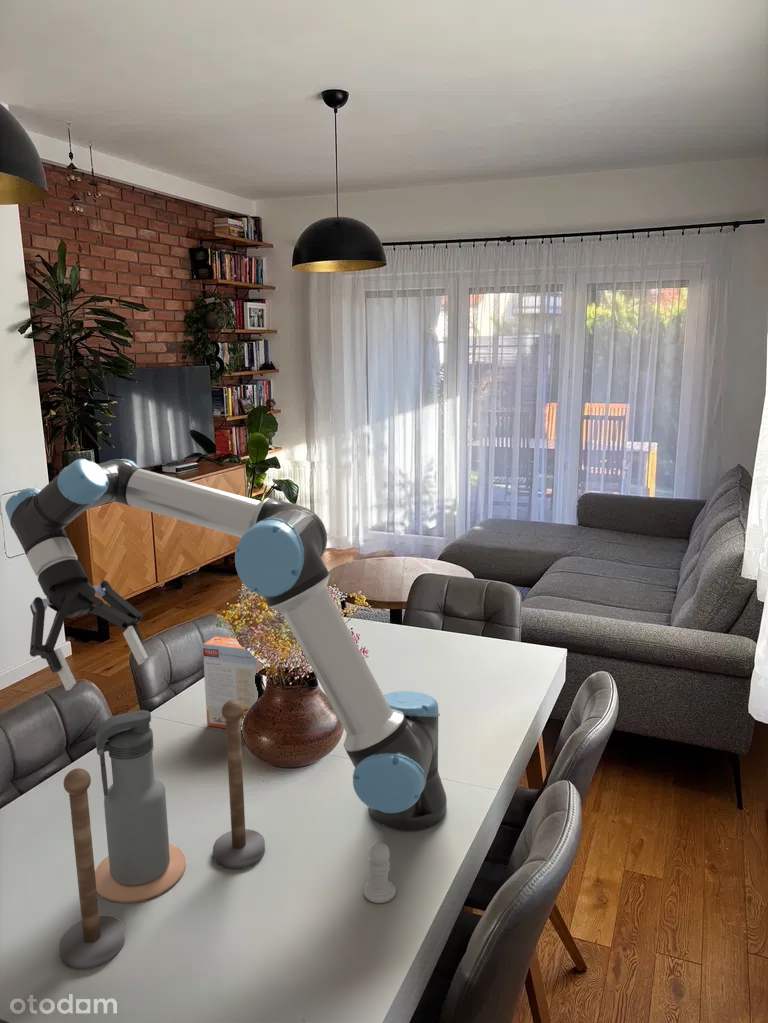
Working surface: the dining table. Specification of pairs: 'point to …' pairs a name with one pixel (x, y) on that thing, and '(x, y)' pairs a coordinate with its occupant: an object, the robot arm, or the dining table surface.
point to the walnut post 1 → (87, 890)
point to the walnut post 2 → (236, 803)
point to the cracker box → (228, 677)
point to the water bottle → (133, 800)
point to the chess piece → (379, 875)
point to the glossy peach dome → (142, 892)
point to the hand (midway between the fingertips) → (108, 673)
